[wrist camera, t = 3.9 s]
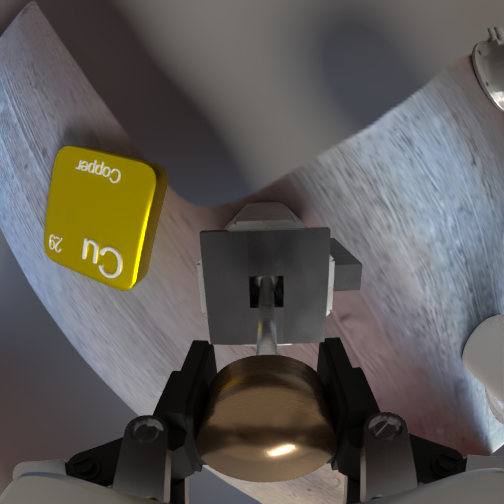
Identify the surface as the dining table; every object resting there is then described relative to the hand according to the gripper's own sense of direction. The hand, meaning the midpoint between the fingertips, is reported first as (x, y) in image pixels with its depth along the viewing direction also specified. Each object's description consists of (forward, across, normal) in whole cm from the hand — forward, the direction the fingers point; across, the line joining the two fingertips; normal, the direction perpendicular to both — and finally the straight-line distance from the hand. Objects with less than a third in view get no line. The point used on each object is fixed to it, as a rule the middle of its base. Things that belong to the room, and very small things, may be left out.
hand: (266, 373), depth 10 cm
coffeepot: (+23, -38, +18) cm, 48 cm away
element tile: (+23, +20, -4) cm, 31 cm away
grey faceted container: (+23, -1, 0) cm, 23 cm away
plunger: (+11, 0, 0) cm, 11 cm away
